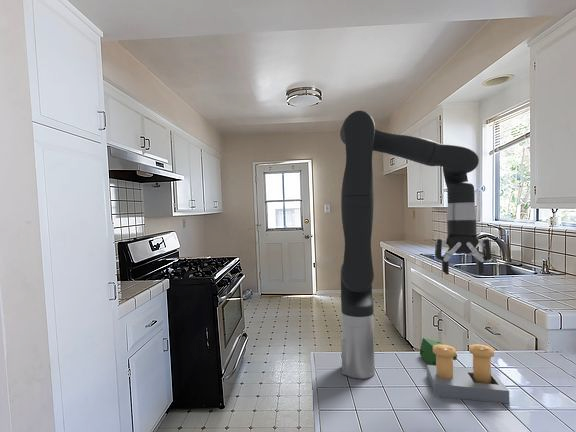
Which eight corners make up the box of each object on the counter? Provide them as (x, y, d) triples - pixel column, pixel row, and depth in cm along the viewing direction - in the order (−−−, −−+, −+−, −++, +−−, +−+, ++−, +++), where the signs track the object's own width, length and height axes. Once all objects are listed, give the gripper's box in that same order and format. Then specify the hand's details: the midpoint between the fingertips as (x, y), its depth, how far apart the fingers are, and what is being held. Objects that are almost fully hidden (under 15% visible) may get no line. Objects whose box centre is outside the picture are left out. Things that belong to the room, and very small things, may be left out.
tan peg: (473, 391, 83) (473, 351, 83) (467, 380, 88) (466, 343, 88) (498, 393, 81) (497, 353, 81) (490, 382, 87) (489, 345, 87)
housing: (435, 395, 81) (434, 355, 82) (427, 375, 92) (426, 340, 92) (509, 403, 78) (508, 361, 78) (492, 381, 88) (491, 344, 88)
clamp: (448, 383, 96) (461, 360, 93) (429, 378, 96) (441, 356, 93) (435, 352, 107) (446, 331, 104) (417, 348, 107) (427, 327, 104)
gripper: (437, 219, 93) (439, 276, 92) (493, 218, 89) (495, 277, 89) (432, 219, 100) (433, 272, 100) (483, 218, 97) (485, 273, 96)
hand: (462, 274), depth 94 cm, fingers open, 8 cm apart
